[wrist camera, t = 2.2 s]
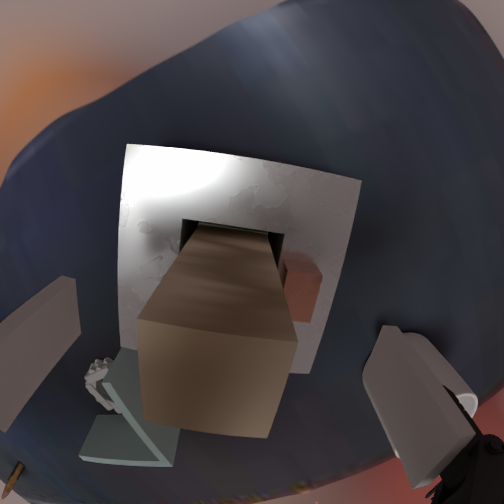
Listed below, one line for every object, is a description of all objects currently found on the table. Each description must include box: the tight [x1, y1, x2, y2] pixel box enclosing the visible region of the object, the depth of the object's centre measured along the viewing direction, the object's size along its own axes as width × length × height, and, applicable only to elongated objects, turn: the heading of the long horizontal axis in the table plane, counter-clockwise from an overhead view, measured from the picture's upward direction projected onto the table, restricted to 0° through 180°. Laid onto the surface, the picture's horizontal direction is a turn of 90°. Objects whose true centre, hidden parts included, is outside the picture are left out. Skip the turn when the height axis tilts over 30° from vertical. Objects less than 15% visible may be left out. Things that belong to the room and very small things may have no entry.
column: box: [137, 221, 298, 438], centre depth 16 cm, size 5×5×16 cm
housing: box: [118, 144, 362, 374], centre depth 20 cm, size 14×14×8 cm
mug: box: [363, 332, 478, 458], centre depth 22 cm, size 9×12×11 cm
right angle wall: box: [78, 347, 180, 467], centre depth 25 cm, size 12×12×8 cm
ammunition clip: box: [2, 462, 25, 499], centre depth 33 cm, size 11×2×12 cm, turn 135°
